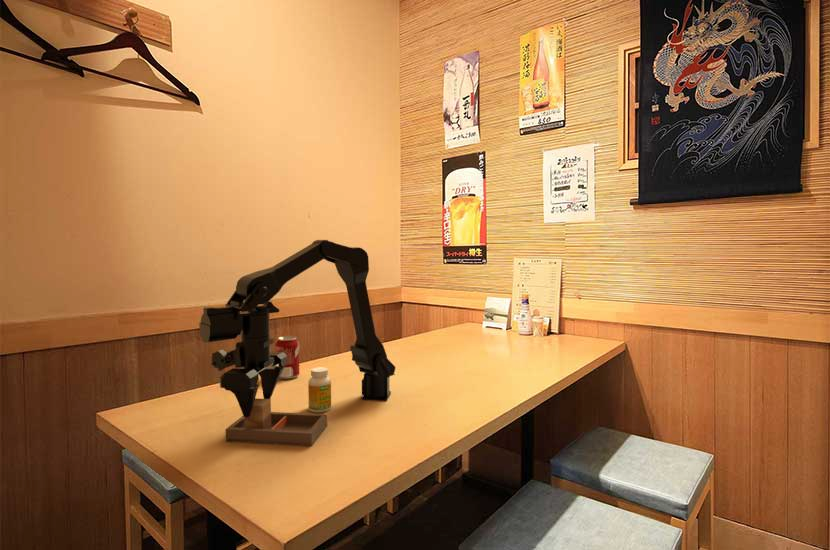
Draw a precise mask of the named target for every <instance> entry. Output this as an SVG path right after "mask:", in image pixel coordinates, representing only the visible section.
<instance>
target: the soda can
mask: <svg viewBox="0 0 830 550" xmlns="http://www.w3.org/2000/svg"><path fill="white" fill-rule="evenodd" d="M297 338H298V337H297V336H295V335H283V336H279V337H277V341H276V342H275V344H274V345H275V352H284V353H285V354H286V355H287V364H286V365H285V366H284V367H285V368H284V370H283V371H282V373H281V376H280V378H279V380H287V381H288V380H292V379H296V378H297V377H298V376H300V343H299V340H297Z"/></svg>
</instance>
